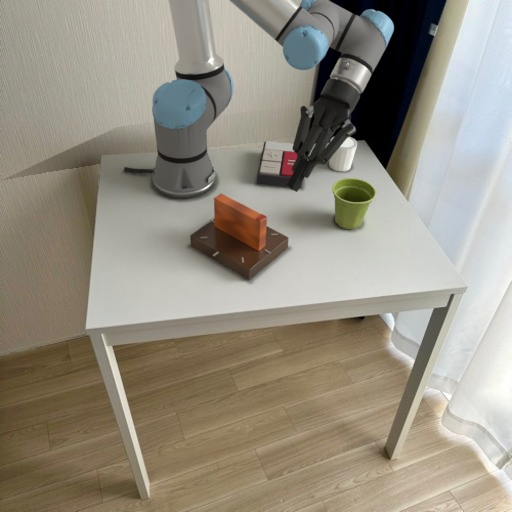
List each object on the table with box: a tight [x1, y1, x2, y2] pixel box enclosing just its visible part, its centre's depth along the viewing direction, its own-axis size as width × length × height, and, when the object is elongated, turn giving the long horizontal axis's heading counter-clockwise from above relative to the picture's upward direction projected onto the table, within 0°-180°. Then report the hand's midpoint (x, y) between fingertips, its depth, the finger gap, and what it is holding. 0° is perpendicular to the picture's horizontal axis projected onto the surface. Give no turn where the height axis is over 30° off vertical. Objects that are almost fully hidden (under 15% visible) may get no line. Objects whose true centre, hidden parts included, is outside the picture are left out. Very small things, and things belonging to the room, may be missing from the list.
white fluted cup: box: [328, 136, 358, 172], centre depth 134 cm, size 7×7×7 cm
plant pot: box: [331, 177, 377, 230], centre depth 116 cm, size 9×9×9 cm
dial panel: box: [189, 218, 290, 281], centre depth 110 cm, size 16×16×3 cm
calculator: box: [256, 140, 303, 189], centre depth 132 cm, size 11×4×15 cm
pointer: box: [213, 193, 268, 251], centre depth 106 cm, size 12×2×8 cm, turn 52°
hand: (291, 188), depth 109 cm, fingers closed
